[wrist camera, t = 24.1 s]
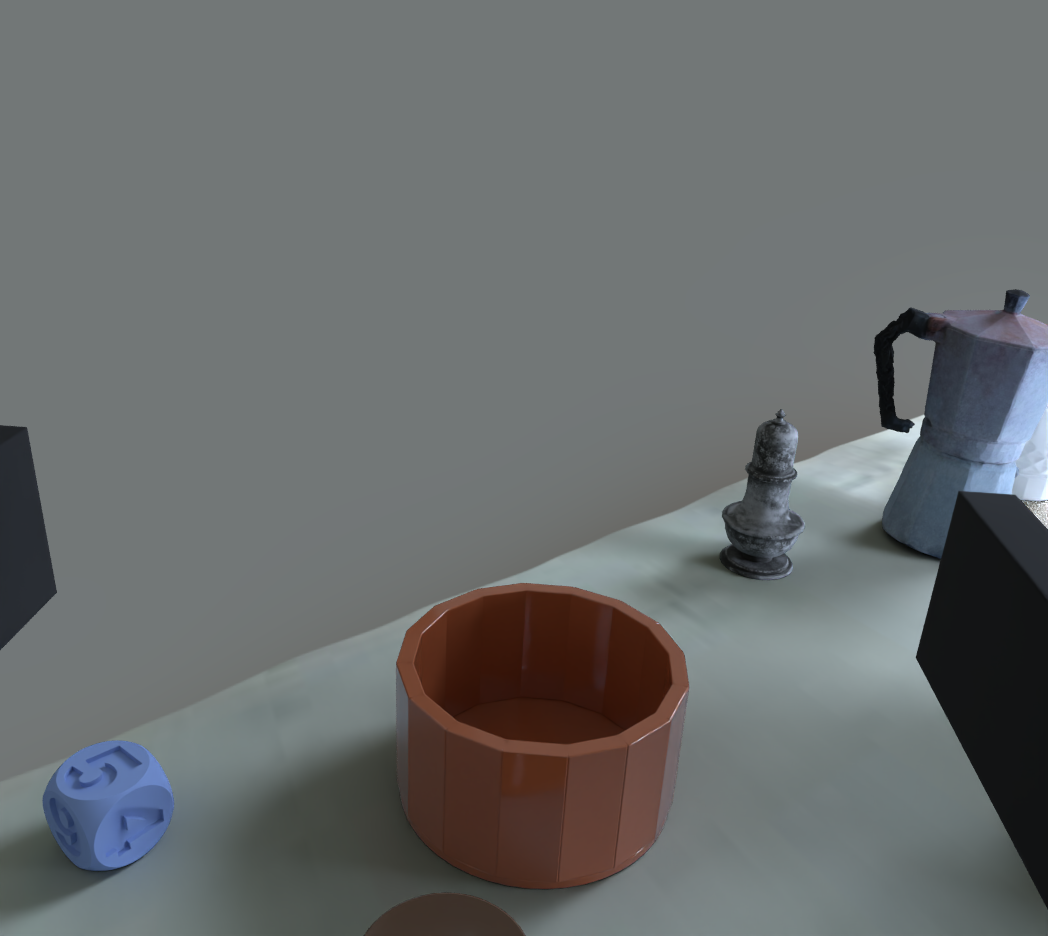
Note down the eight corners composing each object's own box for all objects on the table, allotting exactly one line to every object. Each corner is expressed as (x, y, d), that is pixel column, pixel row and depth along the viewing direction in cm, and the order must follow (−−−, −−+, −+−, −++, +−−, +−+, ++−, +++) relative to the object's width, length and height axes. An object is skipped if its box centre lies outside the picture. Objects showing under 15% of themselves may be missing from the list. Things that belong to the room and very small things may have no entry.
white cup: (1081, 493, 85) (1114, 386, 81) (1034, 512, 81) (1067, 401, 77) (998, 461, 91) (1025, 361, 87) (950, 478, 87) (977, 373, 83)
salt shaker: (700, 550, 72) (721, 399, 67) (762, 537, 74) (787, 391, 69) (748, 588, 67) (774, 429, 62) (813, 573, 69) (844, 419, 64)
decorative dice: (179, 833, 44) (170, 765, 42) (98, 888, 41) (85, 816, 39) (129, 793, 46) (119, 727, 44) (49, 842, 43) (35, 772, 41)
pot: (660, 707, 54) (675, 594, 51) (680, 903, 42) (702, 768, 39) (423, 688, 55) (424, 574, 52) (373, 875, 42) (370, 740, 39)
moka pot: (1062, 572, 71) (1146, 310, 63) (859, 565, 71) (917, 299, 63) (1002, 515, 80) (1068, 278, 72) (820, 508, 79) (867, 269, 71)
